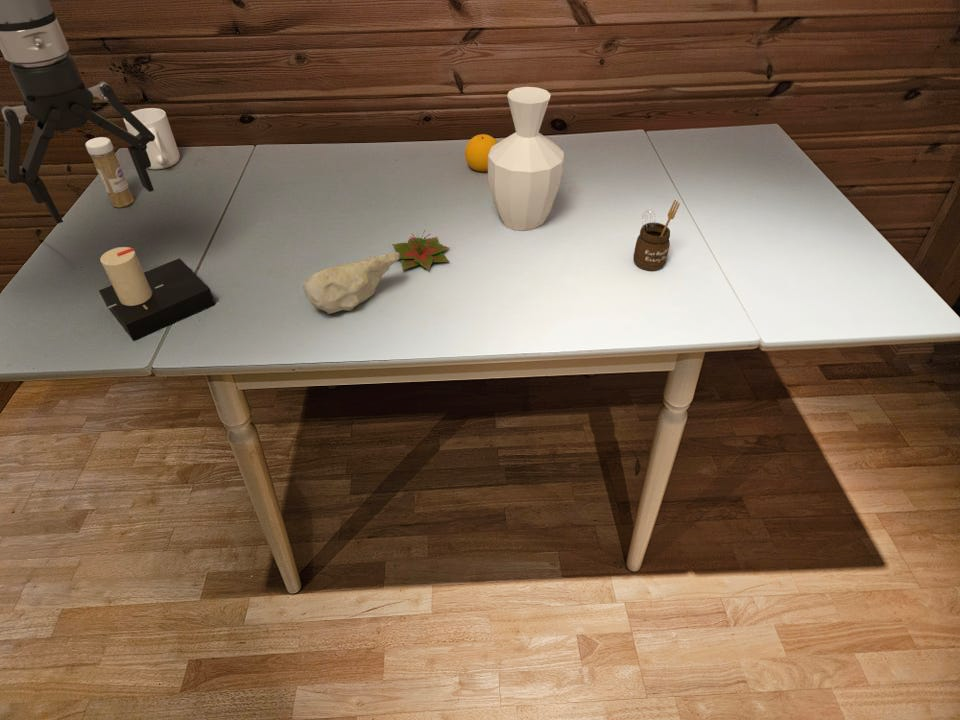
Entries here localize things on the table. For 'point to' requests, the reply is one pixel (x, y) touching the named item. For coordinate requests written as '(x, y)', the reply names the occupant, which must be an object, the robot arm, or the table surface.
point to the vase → (525, 164)
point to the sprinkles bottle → (110, 171)
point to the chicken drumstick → (347, 283)
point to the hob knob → (126, 276)
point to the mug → (157, 138)
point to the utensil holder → (653, 243)
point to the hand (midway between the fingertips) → (104, 203)
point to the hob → (161, 300)
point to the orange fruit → (479, 151)
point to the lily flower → (420, 252)
